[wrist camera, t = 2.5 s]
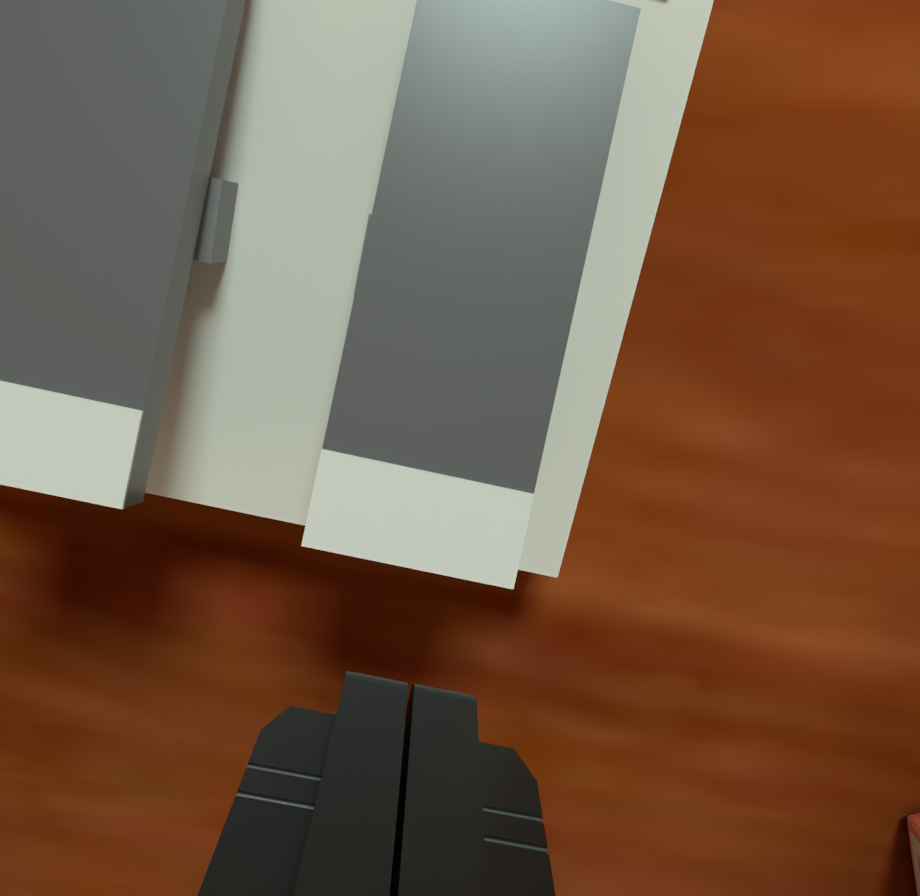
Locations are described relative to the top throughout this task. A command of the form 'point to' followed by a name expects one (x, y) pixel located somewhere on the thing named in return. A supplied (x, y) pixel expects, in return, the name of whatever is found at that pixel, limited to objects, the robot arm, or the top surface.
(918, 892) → the cracker box
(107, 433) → the rocker
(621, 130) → the switch unit
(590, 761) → the top surface
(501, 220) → the block
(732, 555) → the top surface
